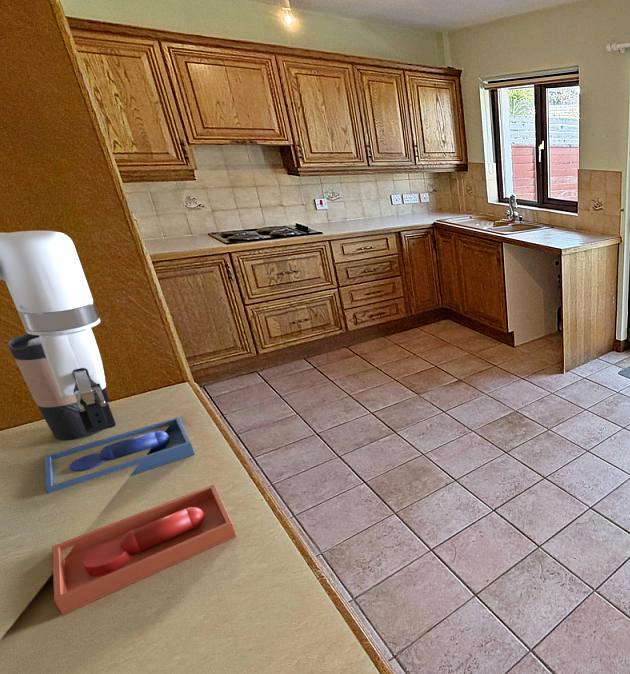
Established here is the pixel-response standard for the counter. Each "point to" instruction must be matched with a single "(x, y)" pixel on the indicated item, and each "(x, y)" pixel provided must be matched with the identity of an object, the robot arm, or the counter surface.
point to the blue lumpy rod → (121, 450)
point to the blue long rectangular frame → (171, 452)
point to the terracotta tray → (83, 588)
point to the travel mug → (47, 389)
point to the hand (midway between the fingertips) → (99, 416)
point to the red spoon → (141, 541)
